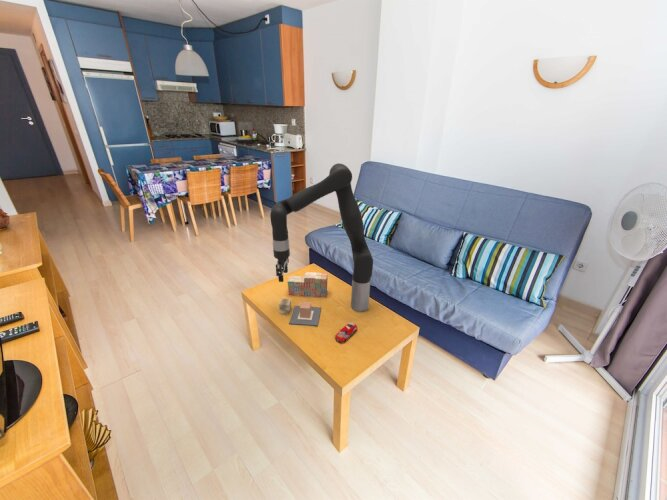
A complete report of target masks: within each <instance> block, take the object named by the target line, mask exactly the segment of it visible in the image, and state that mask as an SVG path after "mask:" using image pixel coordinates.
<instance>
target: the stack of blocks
mask: <svg viewBox="0 0 667 500" xmlns="http://www.w3.org/2000/svg"><path fill="white" fill-rule="evenodd" d="M287 290H288V291H287V292H288V296H296V297H313V298H322V299H323V298H325V299H326V298H327V293H328V273H324V272H311V271H309V272H308V271H306V272H305V274H304V276H300V275H290V276H289V278H288V281H287Z"/></svg>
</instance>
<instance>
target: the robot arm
mask: <svg viewBox="0 0 667 500" xmlns="http://www.w3.org/2000/svg"><path fill="white" fill-rule="evenodd" d="M352 180H353V174H352V171H351V170H350V168H349V167H348V166H346V164H343V163H334V164H333V165H332V166H331V168H330V170H329V173H328V175H327V176H326V177H325V178H324V179H323V180H321V181H319V182H317V183H315V184H313V185H311V186H308V187H305V188H304V189H301V190H299V191H298V192H296V193H295V194H292V195H291V196H289V198H286V199H283V200H280V201H278V202H277V203H276V204H274V205H272V207H271V209H270V215H269V216H270V217H269V218H270V223H271V228H272V229H271V231H272V234H271V235H272V248H273V249H272V250H273V251H272V252H273V257H274V258H275V259H277V261H276V264H275V275H276V277H277V279H278V282H279V283H283V282H284V281H285V279H284V274H287V273H288V271H289V268H288V266H289V263H290V261H289V260H290V259H289V257H290V256H291V251H290V240H289V229H288V219H287V216H288V215H289V214H292V213H293V212H295V213H297V212H300V211H301V210H303V209H304V208H306V207H308V206H309V205H311V204H313V203H315V202H316V201H317V200H320V199H322V198H324V197H325V196H327V195H330V194H332V193H334V192H335V195H336V198H337V203H338V204H337V205H338V208H339V215H340V217H341V218H340V219H341V222H342V225H343V229H344V231H345V233H346V235H347V238H348V240H349V241H350V247H351V254H352V259H353V273H352V274H351V275H352V276H351V277H352V281H351V294H350V295H351V297H350V298H351V299H350V307H351V309H352V310H353V311H355V312H360V313H361V312H366V311H369V305H370V291H371V280H372V276H373V269H374V268H373V267H374V259H373V256H372V253H371V251H370V249H369V245H368V243H367V241H366V237H365V227H364V221H363V216H362V214H361V213H362V212H361V210H360V207H359V203H358V202H357V199H356V197H355V195H354V191H353V189H352V188H353V187H352Z"/></svg>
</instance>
